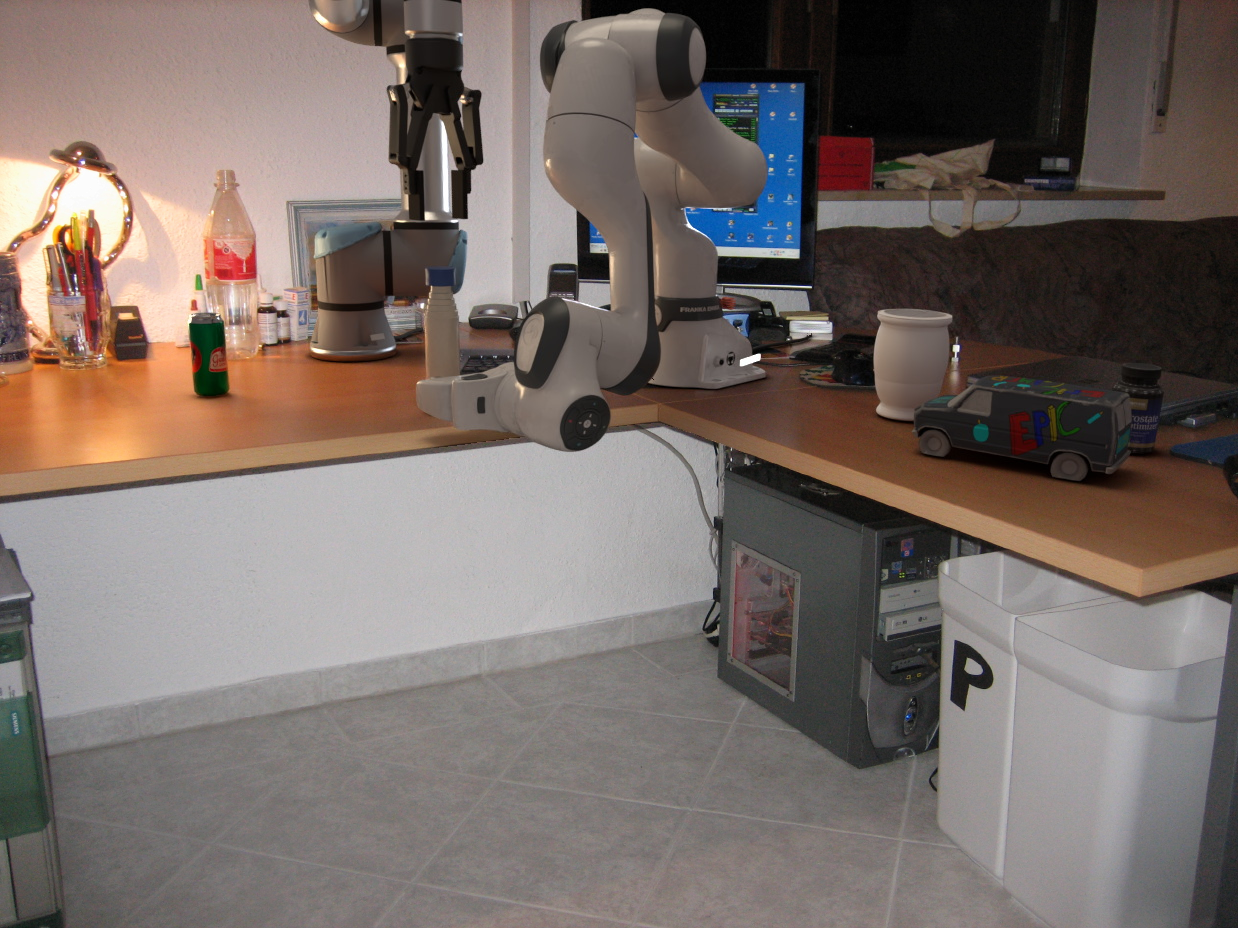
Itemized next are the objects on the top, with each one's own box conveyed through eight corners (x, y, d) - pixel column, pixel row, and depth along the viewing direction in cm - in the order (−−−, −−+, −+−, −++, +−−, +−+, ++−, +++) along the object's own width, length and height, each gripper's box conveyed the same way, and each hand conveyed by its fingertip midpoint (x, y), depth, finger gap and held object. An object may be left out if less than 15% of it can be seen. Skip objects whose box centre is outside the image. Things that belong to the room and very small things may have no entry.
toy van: (934, 435, 146) (942, 362, 143) (1130, 468, 132) (1143, 388, 129) (905, 451, 137) (912, 375, 134) (1110, 488, 123) (1124, 404, 121)
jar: (854, 409, 159) (862, 309, 155) (910, 404, 163) (920, 306, 159) (898, 426, 150) (909, 320, 146) (957, 420, 154) (969, 317, 150)
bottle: (440, 417, 150) (436, 273, 145) (420, 411, 154) (415, 270, 148) (468, 412, 154) (464, 271, 148) (447, 406, 157) (443, 268, 151)
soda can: (218, 398, 158) (211, 317, 155) (187, 396, 159) (179, 316, 156) (236, 391, 163) (230, 313, 160) (206, 389, 164) (199, 311, 161)
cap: (437, 287, 146) (436, 270, 145) (419, 284, 149) (419, 267, 148) (461, 285, 149) (461, 268, 148) (443, 282, 151) (443, 265, 151)
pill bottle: (1117, 454, 138) (1130, 370, 135) (1094, 442, 144) (1106, 361, 140) (1163, 454, 138) (1177, 370, 135) (1139, 442, 144) (1152, 361, 141)
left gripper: (476, 46, 149) (479, 216, 155) (353, 34, 136) (362, 220, 142) (510, 43, 144) (511, 219, 150) (385, 30, 131) (392, 223, 137)
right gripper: (583, 365, 142) (528, 349, 153) (445, 382, 130) (396, 363, 141) (583, 411, 144) (528, 392, 154) (447, 432, 132) (398, 410, 143)
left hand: (438, 219), depth 146 cm, fingers open, 6 cm apart
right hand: (464, 378), depth 148 cm, fingers open, 8 cm apart
